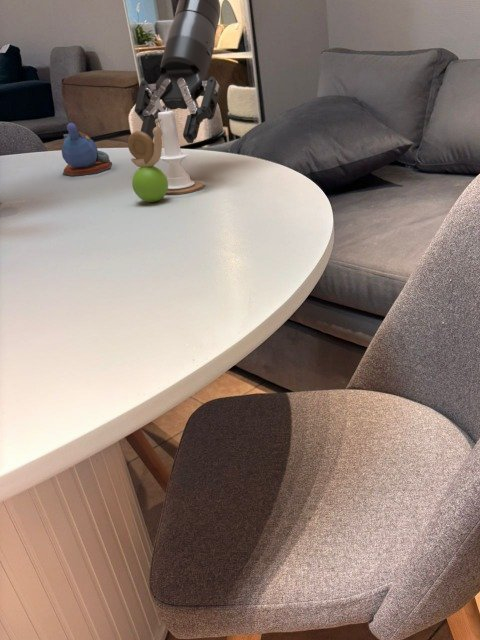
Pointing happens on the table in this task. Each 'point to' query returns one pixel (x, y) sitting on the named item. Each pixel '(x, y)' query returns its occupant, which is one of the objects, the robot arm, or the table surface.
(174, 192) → the coaster
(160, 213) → the table surface
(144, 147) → the snail figurine
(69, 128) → the model
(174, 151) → the candle
